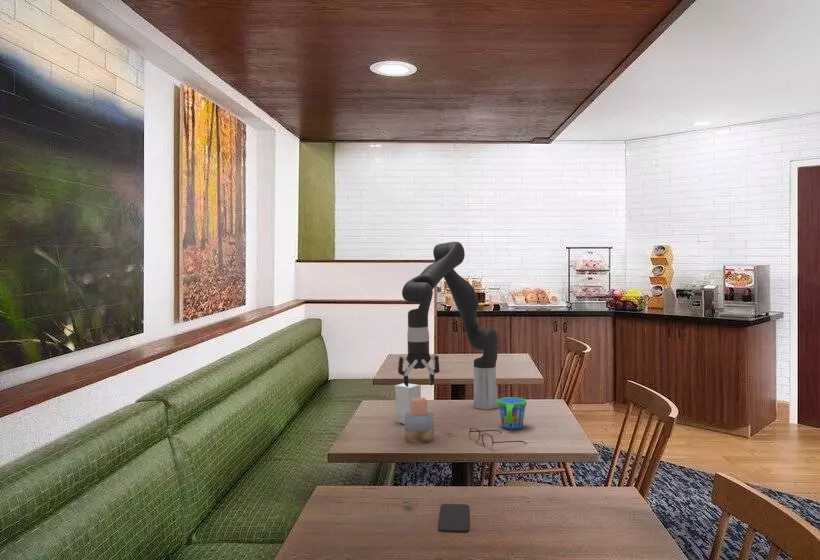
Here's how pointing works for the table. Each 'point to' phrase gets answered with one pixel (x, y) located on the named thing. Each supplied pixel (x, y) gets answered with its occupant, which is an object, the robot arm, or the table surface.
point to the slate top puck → (418, 422)
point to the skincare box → (405, 399)
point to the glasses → (490, 436)
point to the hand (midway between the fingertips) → (419, 385)
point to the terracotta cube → (419, 406)
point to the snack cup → (512, 412)
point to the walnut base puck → (419, 436)
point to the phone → (454, 518)
